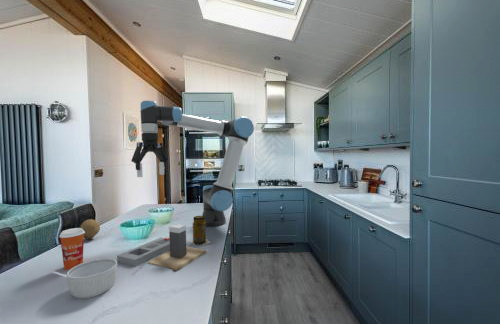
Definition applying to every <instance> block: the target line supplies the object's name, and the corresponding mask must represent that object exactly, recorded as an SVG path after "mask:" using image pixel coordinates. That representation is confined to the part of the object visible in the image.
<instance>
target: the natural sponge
mask: <svg viewBox="0 0 500 324" xmlns="http://www.w3.org/2000/svg"><path fill="white" fill-rule="evenodd" d="M79 228H82V229H83V230H84V231H85V233H84V239H86V240H91V239H93V238H94V237H95V236H97V234H98V233H99V232H100V230H101V226H100V223H99V222H98V221H97V220H95V219H92V218H90V219H86V220H84V221H83V222H82V223H80V225H79Z"/></svg>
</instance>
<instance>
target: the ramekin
mask: <svg viewBox="0 0 500 324" xmlns="http://www.w3.org/2000/svg"><path fill="white" fill-rule="evenodd" d="M117 268H118V262H117V259H114V258H108V257H107V258H106V257H104V258H97V259H92V260H88V261H85V262H84V261H83V263H82V264H79V265H77V266H75V267H73V268H72V269H70V270H67V272H66V280H67V282H68V287H69V291H70V294H71V295H72V296H73V297H74V298H76V299H90V298H93V297H98V296H99V295H102V294H104V293H106V292H108V291H109V289H111V288H112V287H113V286H114V285H115V283H116V279H117V278H116V277H117Z"/></svg>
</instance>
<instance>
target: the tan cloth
mask: <svg viewBox="0 0 500 324" xmlns="http://www.w3.org/2000/svg"><path fill="white" fill-rule="evenodd" d="M186 250H187V255H185V256H184V257H182V258H180V259H179V258H174V257H170V250H168V251H166V252H164V253H162V254H160V255H158V256H156V257H154V258H152V259H150V260H148V261H147V264H149V265H153V266H158V267H163V268H167V269H170V270H172V271H173V272H177V271H179V270H180V269H182V268H183V267H185V266H188V265H189V264H190V263H191V262H193V261H195V260H196V259H198V258H200V257H201V256H202V255H204V254H206V253H207V249H203V248H197V247H192V246H187V245H186Z"/></svg>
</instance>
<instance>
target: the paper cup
mask: <svg viewBox="0 0 500 324" xmlns="http://www.w3.org/2000/svg"><path fill="white" fill-rule="evenodd" d="M84 233H85V231H84V230H83V229H82V228H80V227H75V228H68V229H65V230H62V231H61V232H60V235H59V239H60V248H61V255H62V263H63V269H64V270H65V271H69V270H70V269H72V268H73V267H75V266H77V265H79V264H82V263H84V241H85V240H84V239H85V238H84Z"/></svg>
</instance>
